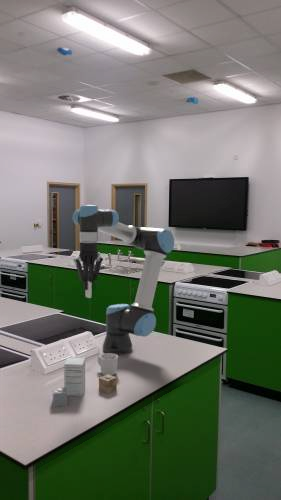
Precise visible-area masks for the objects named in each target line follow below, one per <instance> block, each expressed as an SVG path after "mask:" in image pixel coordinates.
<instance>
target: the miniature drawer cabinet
mask: <svg viewBox="0 0 281 500" xmlns="http://www.w3.org/2000/svg"><path fill="white" fill-rule="evenodd" d="M63 365H64V367H63V370H64V371H63V379H64V382H63V383H64V386H63V387H66V389H67V396H77V397H78V396H80V397H81V396H84V393H85V391H86V390H85V389H86V358H85V357H67V358H66V360H65V362H64V364H63Z"/></svg>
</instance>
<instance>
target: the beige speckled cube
mask: <svg viewBox="0 0 281 500" xmlns="http://www.w3.org/2000/svg"><path fill="white" fill-rule="evenodd" d="M117 380H118V378H117V377H116V376H115V375H112V376H111V375H109V374H107V375H102V376H100V377H98V390H99V391H101V392H104V393H106V394H110V393H112V392H113V391H116V390H117V383H118V382H117Z"/></svg>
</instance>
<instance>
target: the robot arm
mask: <svg viewBox="0 0 281 500" xmlns="http://www.w3.org/2000/svg"><path fill="white" fill-rule="evenodd" d="M119 216H120V215H119V213H118V212H117V211H116V210H114V209H99V207H98V205H96V204H94V205H93V204H82V205H80V206H79V208H78V209H76V210H74V212H73V214H72V222H73V223H74V224H75V225H76V226H79V241H80V242H79V254H78V257H77V258H74V259H73V262H74V263H75V266H76V270H77V275H78V280H79V281H81V282H83V290H85V294H84V295H85V298H88V299H91V298H92V295H93V294H92V290H94V283H95V282H96V281H97V280H98V279H99V274H100V270H101V265H102V263H103V260H104V258H103V257H101V256H100V255H99V254H98V250H99V249H98V247H99V246H98V245H99V244H98V240H99V239H98V238H99V232H101V233H104V234H106V235H108V236H111V237H114V238H116V239H119V240H122V241H123V243H125V244H127V245H130V246H132V247H134V248H136V249H140V250H143V254H144V255H145V258H144V262H143V265H142V271H141V275H140V277H139V282H138V286H137V292H136V294H135V298H134V299H135V300H134V302H133V303H132V304H127V303H117V304H111V305H109V306H108V307H107V308H106V312H105V313H106V314H105V324H106V325H105V329H106V330H105V331H106V332H105V337H104V341H103V344H102V351H103V352H104V353H105V354H106V353H113V354H116V355H124V354H128V353H131V352H132V351H133V344H132V340H131V336H130V334H131V335H134V336H136V337H137V336H138V337H148V336H150V335H151V334H152V333H153V332H154V330H155V327H156V325H157V319H156V315H155V314H154V311H155V310H154V308H153V307H152V306H153V302H154V298H155V294H156V288H157V286H158V285H157V284H158V282H159V281H158V280H159V276H160V272H161V267H162V263H163V260H164V259H166V258H167V257H168V253H169V254H170V253H171V252H172V251H173V249H174V246H175V238H174V237H175V236H174V235H173V233H172V231H170V230H169V229H168V228H163V227H158V228H157V227H147V226H146V227H144V226H143V227H142V226H135V225H127V224H124V223H122V222H119V220H120V217H119ZM81 262H82V263H81Z"/></svg>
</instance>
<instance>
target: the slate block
mask: <svg viewBox="0 0 281 500" xmlns="http://www.w3.org/2000/svg"><path fill="white" fill-rule="evenodd" d="M52 406H53V408H54V407H55V408H56V407H64V406H68V395H67V389H66V387H64V386H63V387H52Z"/></svg>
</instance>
